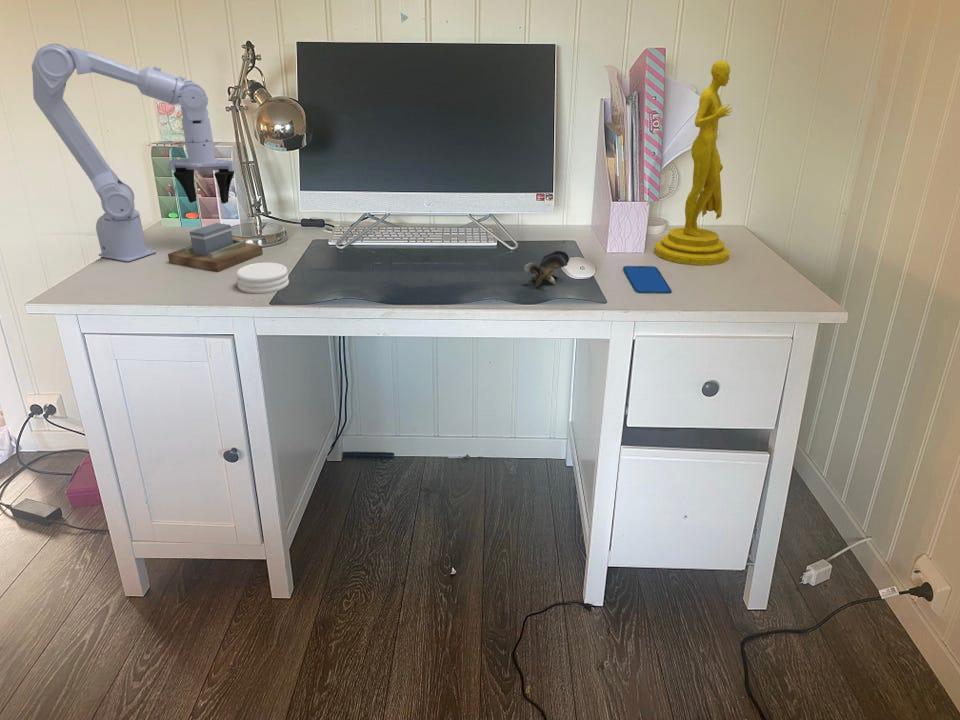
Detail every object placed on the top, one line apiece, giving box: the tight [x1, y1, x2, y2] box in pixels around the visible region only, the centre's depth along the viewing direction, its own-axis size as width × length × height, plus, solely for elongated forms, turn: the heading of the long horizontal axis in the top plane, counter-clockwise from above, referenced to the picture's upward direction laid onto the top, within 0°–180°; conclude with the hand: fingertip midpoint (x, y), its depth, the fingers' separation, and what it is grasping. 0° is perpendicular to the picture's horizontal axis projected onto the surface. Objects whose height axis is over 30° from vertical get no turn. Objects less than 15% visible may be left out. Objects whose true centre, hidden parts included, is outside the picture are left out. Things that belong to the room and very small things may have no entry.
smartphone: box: [622, 265, 672, 295], centre depth 146 cm, size 7×1×15 cm
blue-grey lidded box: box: [189, 222, 233, 256], centre depth 155 cm, size 4×8×5 cm, turn 155°
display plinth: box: [167, 237, 264, 273], centre depth 157 cm, size 14×14×3 cm
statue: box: [653, 60, 733, 266], centre depth 154 cm, size 17×17×41 cm
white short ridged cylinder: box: [235, 262, 290, 294], centre depth 142 cm, size 10×10×4 cm
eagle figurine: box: [523, 250, 570, 288], centre depth 143 cm, size 8×7×9 cm
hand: (209, 202), depth 161 cm, fingers open, 7 cm apart
